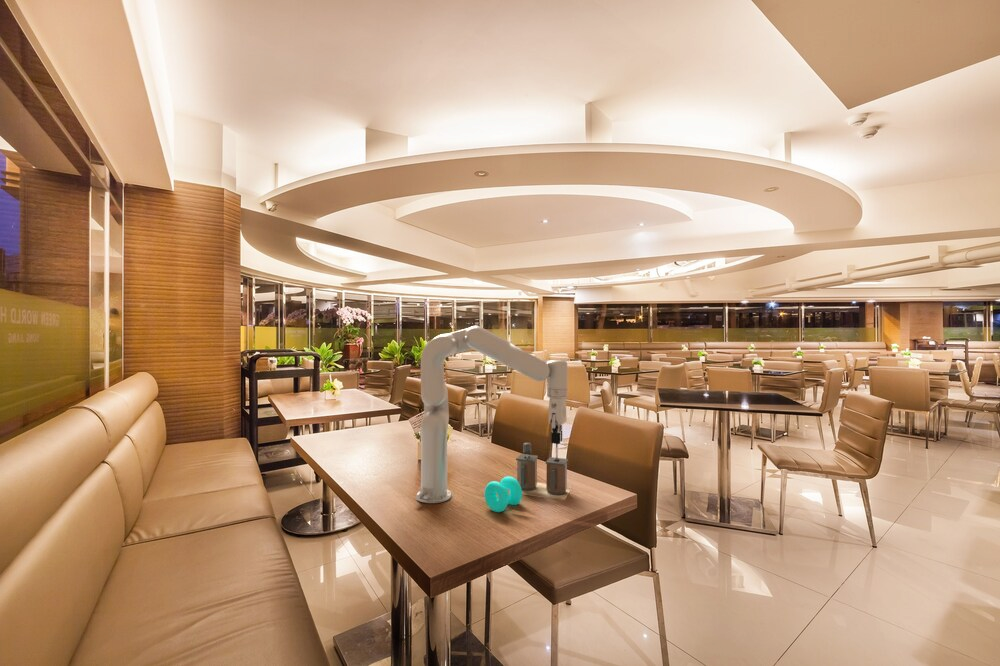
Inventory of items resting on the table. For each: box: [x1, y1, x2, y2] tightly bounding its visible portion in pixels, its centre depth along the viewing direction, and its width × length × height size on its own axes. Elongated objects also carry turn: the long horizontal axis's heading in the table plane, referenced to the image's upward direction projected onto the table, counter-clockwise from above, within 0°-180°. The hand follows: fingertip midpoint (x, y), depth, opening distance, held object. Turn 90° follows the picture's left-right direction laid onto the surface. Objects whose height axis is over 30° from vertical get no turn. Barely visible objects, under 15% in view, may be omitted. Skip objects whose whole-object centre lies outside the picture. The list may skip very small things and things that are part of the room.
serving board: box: [522, 481, 572, 501], centre depth 156 cm, size 14×20×1 cm
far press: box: [515, 442, 539, 491], centre depth 157 cm, size 9×7×17 cm
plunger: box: [555, 430, 562, 462], centre depth 155 cm, size 5×5×16 cm
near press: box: [545, 456, 568, 495], centre depth 153 cm, size 9×7×12 cm
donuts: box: [484, 476, 523, 513], centre depth 142 cm, size 10×10×10 cm
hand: (556, 441), depth 155 cm, fingers closed on plunger, 3 cm apart
